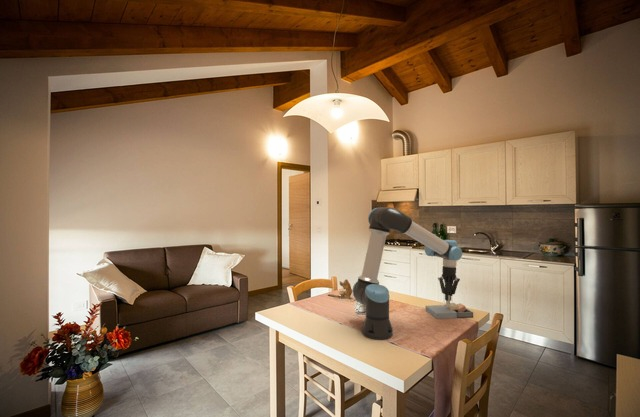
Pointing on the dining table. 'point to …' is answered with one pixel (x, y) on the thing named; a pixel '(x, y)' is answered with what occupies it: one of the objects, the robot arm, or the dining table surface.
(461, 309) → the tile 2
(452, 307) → the tile
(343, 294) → the wooden toy
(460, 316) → the box
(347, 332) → the dining table surface
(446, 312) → the plate
